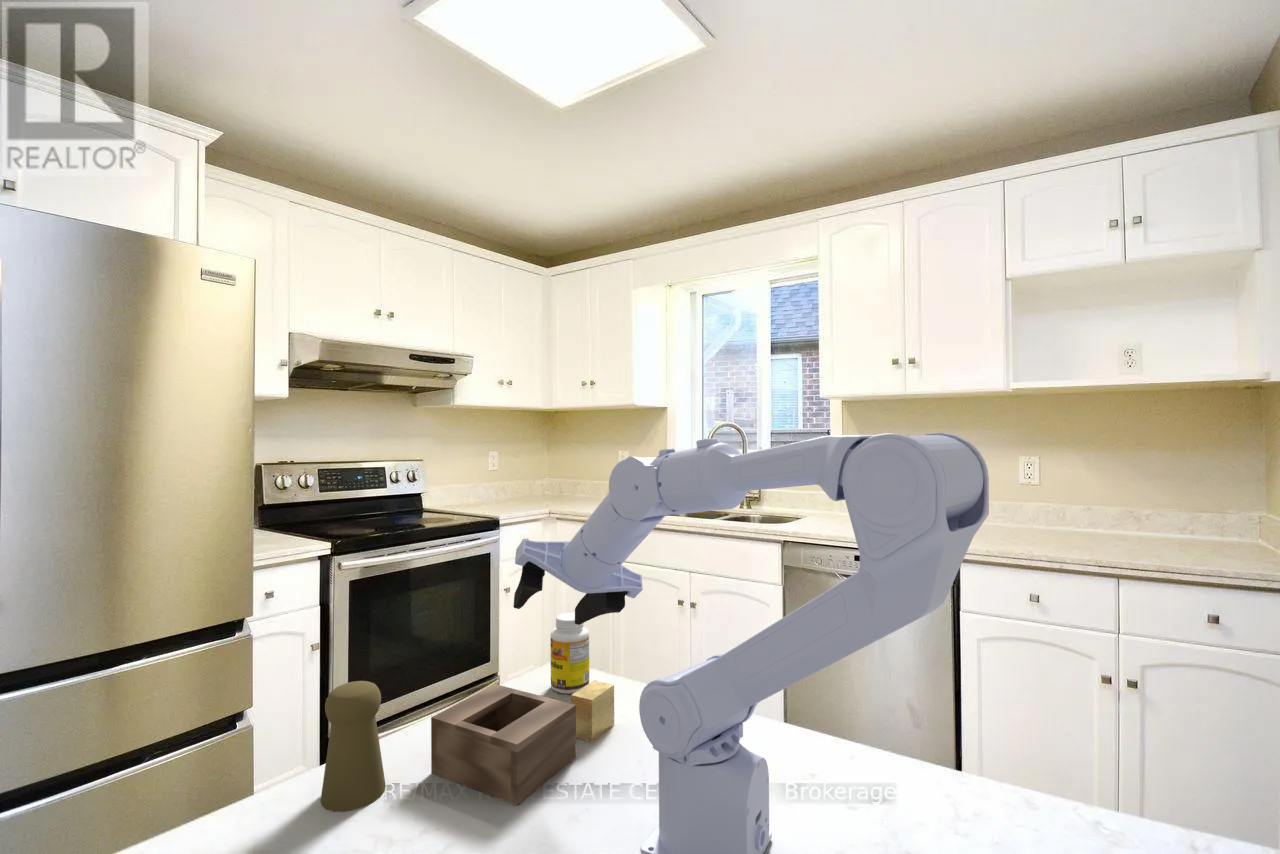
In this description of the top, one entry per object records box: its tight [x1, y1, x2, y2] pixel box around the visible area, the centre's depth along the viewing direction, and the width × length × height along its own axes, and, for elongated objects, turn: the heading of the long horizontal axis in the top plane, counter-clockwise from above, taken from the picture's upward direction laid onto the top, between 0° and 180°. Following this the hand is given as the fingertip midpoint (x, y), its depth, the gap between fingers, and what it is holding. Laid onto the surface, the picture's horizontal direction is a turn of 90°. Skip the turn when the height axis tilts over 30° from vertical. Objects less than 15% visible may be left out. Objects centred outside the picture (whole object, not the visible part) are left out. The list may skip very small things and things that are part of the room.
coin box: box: [430, 683, 577, 806], centre depth 68 cm, size 12×10×6 cm
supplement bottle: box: [550, 612, 590, 695], centre depth 89 cm, size 6×6×10 cm
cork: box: [320, 680, 387, 813], centre depth 63 cm, size 6×6×11 cm
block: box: [570, 680, 615, 743], centre depth 76 cm, size 3×5×5 cm, turn 151°
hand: (547, 609), depth 71 cm, fingers open, 7 cm apart
